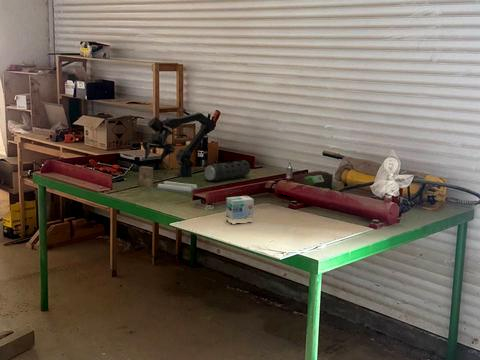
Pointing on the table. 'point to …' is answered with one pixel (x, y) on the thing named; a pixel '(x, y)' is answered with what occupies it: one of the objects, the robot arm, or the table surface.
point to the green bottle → (315, 179)
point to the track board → (177, 187)
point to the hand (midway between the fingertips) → (153, 159)
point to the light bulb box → (239, 207)
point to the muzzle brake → (227, 170)
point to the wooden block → (146, 176)
